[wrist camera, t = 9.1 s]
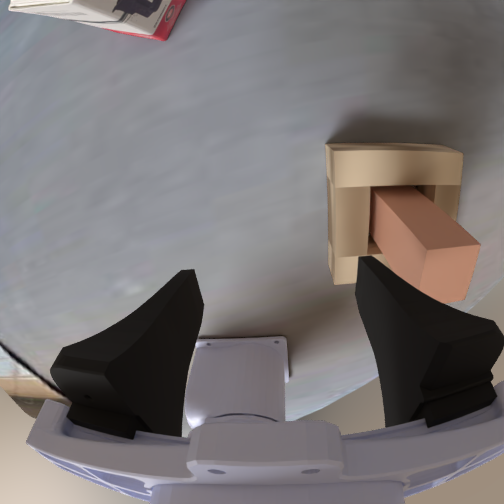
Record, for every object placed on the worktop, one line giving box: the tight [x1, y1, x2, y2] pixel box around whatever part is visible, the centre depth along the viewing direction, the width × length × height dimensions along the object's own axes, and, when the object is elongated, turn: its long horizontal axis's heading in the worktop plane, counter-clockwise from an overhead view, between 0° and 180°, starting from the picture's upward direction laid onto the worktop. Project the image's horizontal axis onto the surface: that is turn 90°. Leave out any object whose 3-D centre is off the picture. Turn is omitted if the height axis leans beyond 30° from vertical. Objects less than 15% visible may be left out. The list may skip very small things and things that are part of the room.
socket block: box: [325, 143, 463, 285], centre depth 20 cm, size 10×10×3 cm
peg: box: [369, 185, 481, 304], centre depth 17 cm, size 4×4×10 cm
